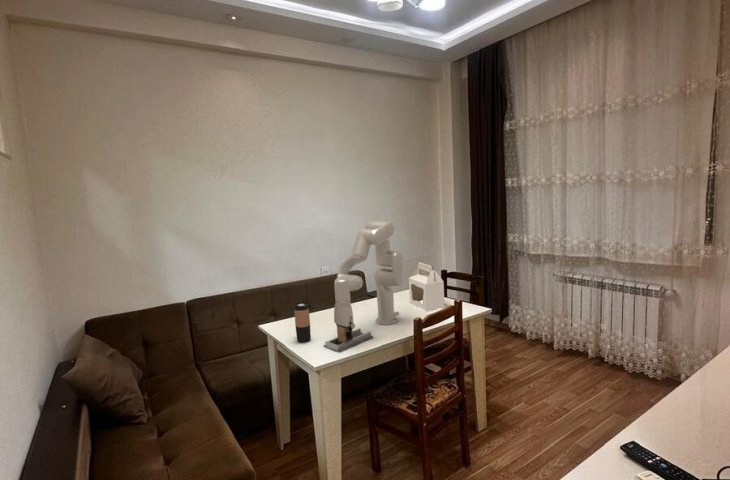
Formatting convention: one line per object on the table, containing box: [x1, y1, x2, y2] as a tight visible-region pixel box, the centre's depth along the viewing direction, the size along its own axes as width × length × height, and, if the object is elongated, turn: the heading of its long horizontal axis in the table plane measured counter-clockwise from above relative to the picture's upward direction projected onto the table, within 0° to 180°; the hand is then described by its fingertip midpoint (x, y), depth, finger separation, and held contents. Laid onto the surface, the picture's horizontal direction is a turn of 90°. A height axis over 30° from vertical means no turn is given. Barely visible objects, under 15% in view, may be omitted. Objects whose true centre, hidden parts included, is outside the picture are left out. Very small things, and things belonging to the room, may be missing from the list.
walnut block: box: [336, 325, 354, 343], centre depth 197 cm, size 6×5×8 cm
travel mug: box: [293, 301, 312, 344], centre depth 204 cm, size 8×8×20 cm
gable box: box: [408, 261, 445, 312], centre depth 253 cm, size 22×13×28 cm, turn 22°
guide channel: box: [323, 328, 374, 354], centre depth 200 cm, size 24×12×3 cm, turn 136°
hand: (345, 336), depth 198 cm, fingers closed on walnut block, 5 cm apart
